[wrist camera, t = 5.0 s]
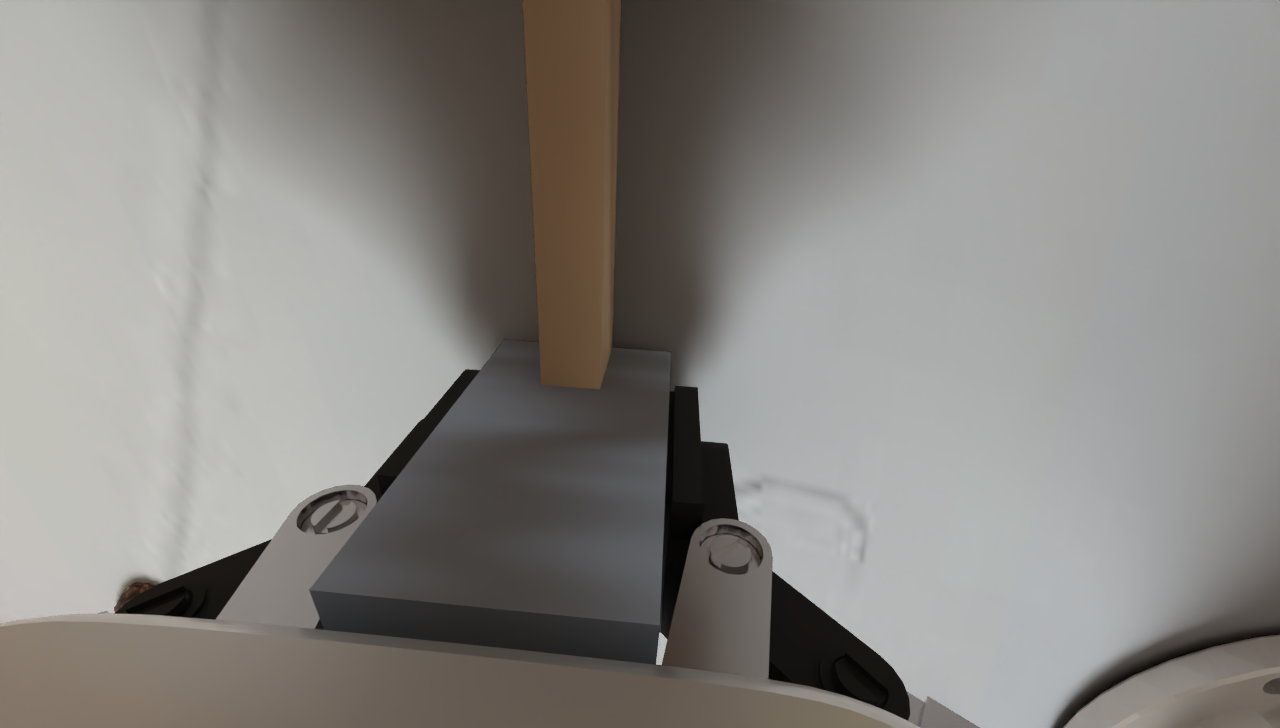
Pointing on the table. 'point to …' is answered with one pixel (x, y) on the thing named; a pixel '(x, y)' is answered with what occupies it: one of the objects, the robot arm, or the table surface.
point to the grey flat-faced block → (536, 422)
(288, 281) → the table surface
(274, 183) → the table surface
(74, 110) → the table surface
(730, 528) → the robot arm
